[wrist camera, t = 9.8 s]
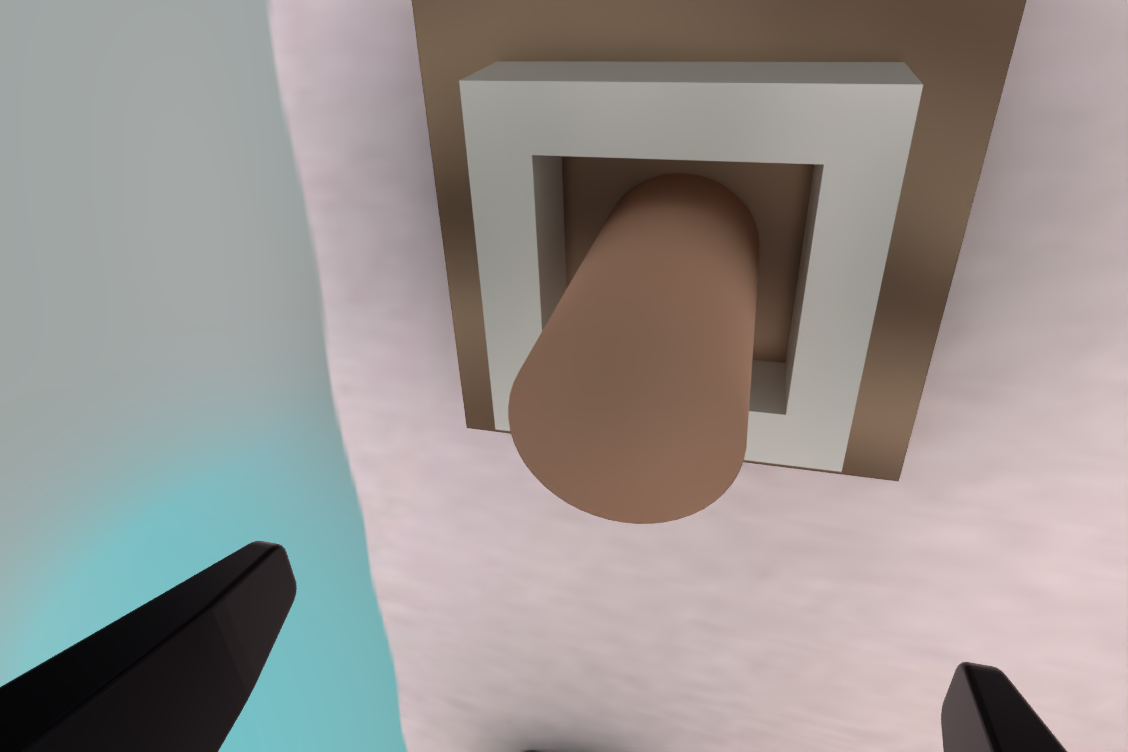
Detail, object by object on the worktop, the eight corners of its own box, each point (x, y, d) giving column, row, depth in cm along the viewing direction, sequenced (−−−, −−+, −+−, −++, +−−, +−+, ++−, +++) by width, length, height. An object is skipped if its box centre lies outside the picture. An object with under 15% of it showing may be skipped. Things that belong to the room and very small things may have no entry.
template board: (893, 459, 21) (911, 543, 19) (477, 410, 24) (436, 476, 21) (1025, -53, 15) (1085, -47, 12) (425, -36, 18) (355, -26, 15)
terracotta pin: (751, 326, 19) (735, 539, 13) (603, 314, 20) (516, 506, 14) (768, 176, 17) (760, 337, 11) (601, 170, 18) (498, 315, 12)
